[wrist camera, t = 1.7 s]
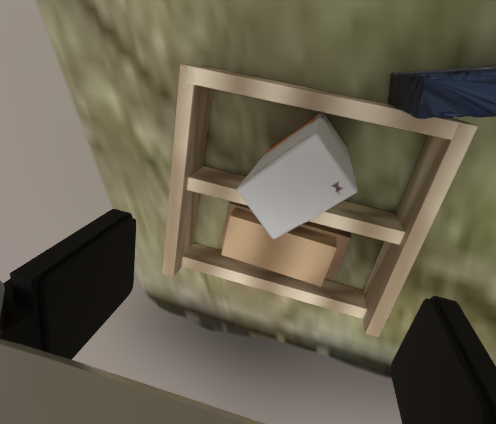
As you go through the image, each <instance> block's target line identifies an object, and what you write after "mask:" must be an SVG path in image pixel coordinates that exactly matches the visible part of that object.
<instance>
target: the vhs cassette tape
mask: <svg viewBox="0 0 496 424" xmlns="http://www.w3.org/2000/svg"><path fill="white" fill-rule="evenodd" d="M389 88H390V90H389V92H390V93H389V96H388V102H389V104H391V105H393V106H395V107H396V108H398V109H400V110H402V111H404V112H406V113H407V114H410V115H411V116H413V117H414V118H417V119H428V118H433V117H436V118H448V117H452V116H456V117H463V116H472V117H493V116H496V66H483V67H468V68H454V69H440V70H427V71H415V72H402V73H394V72H392V73H391V80H390V87H389Z"/></svg>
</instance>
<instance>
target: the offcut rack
mask: <svg viewBox="0 0 496 424" xmlns="http://www.w3.org/2000/svg"><path fill="white" fill-rule="evenodd" d="M213 89H217V90H222V91H226V92H231V93H236V94H240V95H245V96H250V97H254V98H259V99H264V100H268V101H273V102H277V103H282V104H287V105H291V106H296V107H301V108H305V109H310V110H315V111H319V112H324V113H328V114H333V115H338V116H342V117H347V118H352V119H356V120H361V121H366V122H370V123H375V124H380V125H384V126H389V127H393V128H398V129H403V130H407V131H412V132H417V133H421V134H426V135H428V136H427V139H426V141H425V144H424V146H423V148H422V151H421V153H420V156H419V158H418V160H417V163H416V165H415V168H414V170H413V173H412V175H411V177H410V180H409V182H408V185H407V187H406V190H405V192H404V194H403V197H402V199H401V202H400V204H399V207H398V209H397V211H396V213H392V212H388V211H384V210H380V209H376V208H372V207H368V206H364V205H360V204H355V203H351V202H347V201H342V202H340V203H338V204H337V205H335V206H333V207H331V208H330V209H328V210H326V211H325V212H323V213H321V214H320V215H319V216H317V217H315V218H314V219H312V220H310V222H313V223H317V224H321V225H325V226H329V227H333V228H337V229H341V230H344V231H348V232H352V233H356V234H360V235H364V236H368V237H371V238H375V239H379V240H383V241H384V243H383V245H382V248H381V250H380V253H379V255H378V257H377V260H376V262H375V265H374V267H373V270H372V272H371V274H370V277H369V279H368V282H367V284H366V286H365V289H364V291H363V290H360V289H356V288H353V287H349V286H345V285H342V284H338V283H335V282H331V281H327V280H324V281H323V283H322V286H321V287H320V286H317V285H314V284H311V283H308V282H305V281H302V280H299V279H295V278H292V277H289V276H286V275H283V274H280V273H277V272H273V271H270V270H267V269H264V268H261V267H258V266H255V265H252V264H248V263H245V262H242V261H239V260H236V259H233V258H230V257H227V256H223V255H221V254H222V251H220V250H216V249H213V248H209V247H206V246H202V245H198V244H195V243H193V242H194V235H195V227H196V219H197V211H198V204H199V196H200V193H201V194H205V195H209V196H213V197H217V198H221V199H224V200H228V201H232V202H236V203H240V204H244V205H247V204H246V202H245V201H244V199H243V198H242V197H241V195H240V194H239V193H238V191H237V188H238V186H239V185H240V184H241V183H242V181H243V180H244V179H245V178H246V176H242V175H238V174H234V173H230V172H226V171H222V170H218V169H214V168H210V167H206V166H203V165H204V157H205V149H206V142H207V134H208V126H209V118H210V110H211V103H212V95H213ZM477 128H478V126H476V125H473V124H470V123H467V122H464V121H461V120H458V119H455V118H452V117H448V118H436V117H433V118H428V119H417V118H414V117H413V116H411V115H410V114H407V113H406V112H404V111H402V110H400V109H398V108H396V107H395V106H393V105H389V104H384V103H380V102H375V101H370V100H365V99H360V98H355V97H351V96H346V95H341V94H336V93H331V92H326V91H322V90H317V89H312V88H307V87H302V86H298V85H293V84H288V83H283V82H278V81H273V80H269V79H264V78H259V77H254V76H249V75H245V74H240V73H235V72H230V71H225V70H220V69H216V68H211V67H206V66H198V65H184V64H180V74H179V86H178V97H177V109H176V121H175V132H174V144H173V155H172V167H171V178H170V190H169V202H168V213H167V225H166V236H165V248H164V259H163V271H162V274H165V275H169V276H172V277H174V276H175V274H176V273H177V272H178V270H179V269H180V268H181V266H182V267H186V268H189V269H193V270H196V271H200V272H203V273H207V274H210V275H213V276H217V277H220V278H224V279H227V280H231V281H234V282H238V283H241V284H244V285H248V286H251V287H255V288H258V289H262V290H265V291H269V292H272V293H276V294H279V295H282V296H286V297H289V298H293V299H296V300H300V301H303V302H307V303H310V304H314V305H317V306H320V307H324V308H327V309H331V310H334V311H338V312H341V313H345V314H348V315H352V316H355V317H358V318H362V319H363V322H364V329H365V334H369V335H372V336H375V337H379V335H380V333H381V331H382V329H383V327H384V325H385V323H386V320H387V318H388V316H389V314H390V312H391V310H392V308H393V306H394V303H395V301H396V299H397V297H398V295H399V293H400V291H401V289H402V287H403V284H404V282H405V280H406V278H407V276H408V274H409V272H410V270H411V267H412V265H413V263H414V261H415V259H416V257H417V255H418V253H419V251H420V248H421V246H422V244H423V242H424V240H425V238H426V236H427V234H428V231H429V229H430V227H431V225H432V223H433V221H434V219H435V217H436V215H437V212H438V210H439V208H440V206H441V204H442V202H443V200H444V198H445V195H446V193H447V191H448V189H449V187H450V185H451V183H452V181H453V178H454V176H455V174H456V172H457V170H458V168H459V166H460V164H461V162H462V159H463V157H464V155H465V153H466V151H467V149H468V147H469V145H470V142H471V140H472V138H473V136H474V134H475V132H476V130H477Z"/></svg>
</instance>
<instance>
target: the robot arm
mask: <svg viewBox="0 0 496 424" xmlns="http://www.w3.org/2000/svg"><path fill="white" fill-rule="evenodd" d="M135 239H136V220H135V219H133V218H132V215H131V214H130V213H128V212H124V211H120V210H117V209H112V210H110V211H108V212H107V213H106V214H104V215H102V216H100V217H99V218H97V219H96V220H94V221H93V222H91V223H89V224H88V225H86V226H85V227H83V228H81V229H80V230H78V231H77V232H75V233H73V234H72V235H70V236H69V237H67V238H66V239H64V240H62V241H61V242H59V243H58V244H56V245H54V246H53V247H51V248H49V249H48V250H46V251H45V252H43V253H41V254H40V255H38V256H37V257H35V258H33V259H32V260H30V261H29V262H27V263H26V264H24V265H23V266H21V267H19V268H18V269H16V270H14V271H13V272H11V273H10V277H11V279H9V280H8V281H6V282H5V283H2V282H1V281H0V424H264V423H260V422H258V421H255V420H252V419H249V418H246V417H243V416H240V415H237V414H234V413H231V412H228V411H225V410H222V409H219V408H216V407H213V406H210V405H207V404H204V403H201V402H198V401H195V400H192V399H189V398H186V397H183V396H180V395H177V394H174V393H171V392H168V391H165V390H162V389H159V388H156V387H153V386H150V385H147V384H144V383H141V382H138V381H135V380H132V379H128V378H125V377H122V376H119V375H116V374H113V373H110V372H107V371H104V370H101V369H98V368H95V367H92V366H89V365H86V364H83V363H80V362H77V361H73V360H72V358H73V357H74V356H75V355H76V354H77V352H79V351H80V350H81V348H82V347H83V346H84V345H85V344H86V343H87V342H88V341H89V339H90V338H91V337H92V336H93V335H94V334H95V333H96V332H97V330H98V329H99V328H100V327H101V326H102V325H103V324H104V323H105V321H106V320H107V319H108V318H109V317H110V316H111V315H112V314H113V312H114V311H115V310H116V309H117V308H118V307H119V306H120V305H121V303H122V302H123V301H124V300H125V299H126V298H127V297H128V295H129V294H130V292H131V291H132V288H133V282H134V260H135ZM391 376H392V381H393V385H394V389H395V394H396V398H397V402H398V407H399V411H400V415H401V419H402V424H496V366H495V365H494V363H493V361H492V360H491V358H490V356H489V355H488V353H487V351H486V350H485V348H484V346H483V345H482V343H481V341H480V340H479V338H478V336H477V335H476V333H475V331H474V330H473V328H472V326H471V325H470V323H469V321H468V320H467V318H466V316H465V315H464V313H463V311H462V309H461V308H460V306H459V304H458V303H457V302H456V301H453V300H449V299H445V298H442V297H438V296H433V297H432V298H431V299H425V300H424V301H423V303H422V305H421V307H420V309H419V311H418V313H417V315H416V316H415V318H414V320H413V322H412V324H411V326H410V328H409V330H408V332H407V334H406V336H405V338H404V340H403V342H402V344H401V346H400V348H399V350H398V352H397V354H396V355H395V357H394V359H393V362H392V365H391Z"/></svg>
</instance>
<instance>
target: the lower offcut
mask: <svg viewBox="0 0 496 424" xmlns="http://www.w3.org/2000/svg"><path fill="white" fill-rule="evenodd" d="M235 207H236V208H239V209H242V210H246V211H249V212H252V210H251V209H250V208H249V206H248V205H244V204H240V203H236V202H232V201H230V203H229V206H228V211H227V216H226V221H225V226H224V231H223V236H222V241H221V247H223V245H224V240H225V236H226V231H227V227H228V222H229V218H230V215H231V213H232V212H233V210H234V209H235ZM252 213H253V212H252ZM299 227H302V228H305V229H309V230H312V231H315V232H319V233H322V234H325V235H328V236H332V237H335V238H336V245H337V249H336V251H335V254H334V256H333V259H332V261H331V263H330V266H329V268H328V271H327V273H326V276H325V278H327V279H330V280H333V281H334V280H335V278H336V275H337V273H338V270H339V267H340V265H341V262H342V260H343V257H344V255H345V252H346V250H347V247H348V245H349V242H350V240H351V234H350V232H348V231H344V230H341V229H337V228H333V227H329V226H325V225H321V224H317V223H313V222H310V221H308V222H305V223H303V224H301V225H299Z"/></svg>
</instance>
